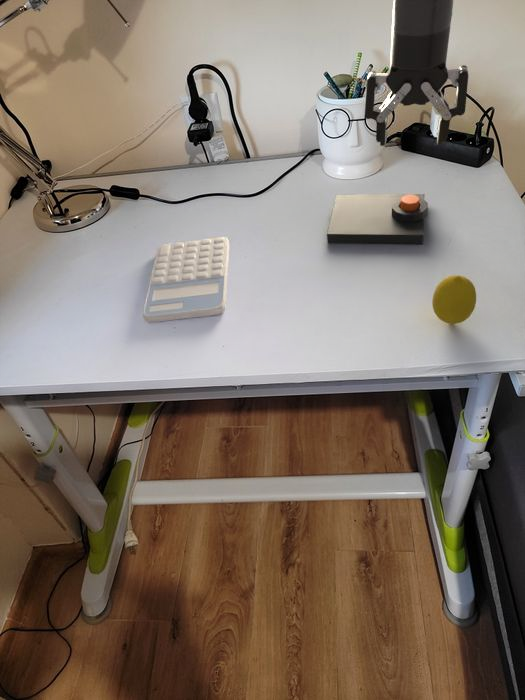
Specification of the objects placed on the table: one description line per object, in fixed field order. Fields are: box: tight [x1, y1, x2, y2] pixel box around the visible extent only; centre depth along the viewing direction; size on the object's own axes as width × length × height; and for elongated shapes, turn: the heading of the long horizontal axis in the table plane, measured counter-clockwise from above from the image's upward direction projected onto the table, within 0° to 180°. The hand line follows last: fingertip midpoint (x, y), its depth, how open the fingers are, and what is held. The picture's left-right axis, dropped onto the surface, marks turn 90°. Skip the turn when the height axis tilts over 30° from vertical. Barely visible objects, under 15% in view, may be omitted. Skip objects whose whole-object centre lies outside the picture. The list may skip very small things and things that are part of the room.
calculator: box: [142, 236, 230, 323], centre depth 86 cm, size 13×20×2 cm, turn 0°
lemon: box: [432, 274, 477, 325], centre depth 69 cm, size 6×6×8 cm
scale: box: [326, 193, 429, 245], centre depth 90 cm, size 16×13×4 cm
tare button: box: [401, 195, 419, 211], centre depth 87 cm, size 3×3×2 cm
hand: (410, 142), depth 79 cm, fingers open, 8 cm apart
